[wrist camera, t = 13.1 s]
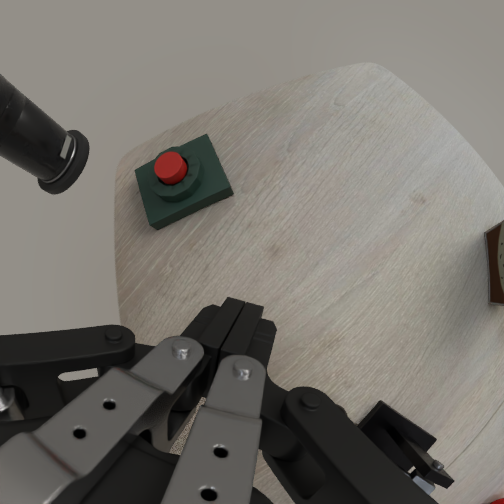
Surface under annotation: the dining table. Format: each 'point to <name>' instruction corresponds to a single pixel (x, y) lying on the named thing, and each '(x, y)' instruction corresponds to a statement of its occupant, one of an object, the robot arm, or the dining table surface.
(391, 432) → the black bracket
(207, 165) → the control block
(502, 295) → the cake slice
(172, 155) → the button
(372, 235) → the dining table surface
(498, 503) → the tomato
